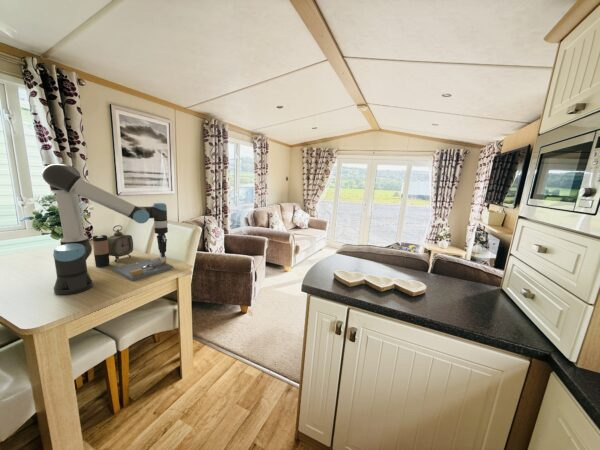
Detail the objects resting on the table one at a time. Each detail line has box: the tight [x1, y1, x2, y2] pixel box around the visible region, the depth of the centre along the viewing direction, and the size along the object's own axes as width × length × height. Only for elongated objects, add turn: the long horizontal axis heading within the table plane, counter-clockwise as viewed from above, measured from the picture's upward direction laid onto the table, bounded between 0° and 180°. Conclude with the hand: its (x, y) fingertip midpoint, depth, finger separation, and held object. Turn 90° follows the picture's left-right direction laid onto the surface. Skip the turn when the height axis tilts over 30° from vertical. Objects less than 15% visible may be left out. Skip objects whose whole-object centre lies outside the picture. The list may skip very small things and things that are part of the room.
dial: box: [142, 255, 167, 269], centre depth 157 cm, size 15×6×5 cm, turn 149°
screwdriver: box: [129, 267, 153, 276], centre depth 146 cm, size 12×3×3 cm, turn 149°
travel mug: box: [92, 234, 111, 268], centre depth 157 cm, size 8×8×20 cm
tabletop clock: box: [107, 224, 134, 263], centre depth 169 cm, size 14×9×25 cm, turn 168°
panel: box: [112, 257, 174, 282], centre depth 156 cm, size 25×24×2 cm
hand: (162, 261), depth 159 cm, fingers closed
